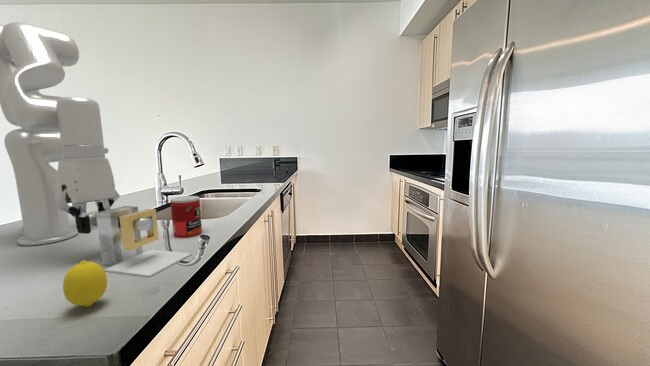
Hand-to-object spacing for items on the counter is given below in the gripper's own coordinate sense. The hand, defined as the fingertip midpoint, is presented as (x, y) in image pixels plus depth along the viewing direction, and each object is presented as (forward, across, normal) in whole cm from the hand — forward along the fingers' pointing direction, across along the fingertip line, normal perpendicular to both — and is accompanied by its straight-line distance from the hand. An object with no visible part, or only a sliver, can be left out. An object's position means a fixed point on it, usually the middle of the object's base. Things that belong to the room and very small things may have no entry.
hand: (94, 229), depth 68 cm
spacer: (-1, 0, +14) cm, 14 cm away
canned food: (+7, -20, +9) cm, 23 cm away
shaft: (0, 0, +8) cm, 8 cm away
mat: (+7, 0, +16) cm, 17 cm away
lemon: (+7, +17, +21) cm, 28 cm away
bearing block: (+7, 0, +8) cm, 10 cm away
